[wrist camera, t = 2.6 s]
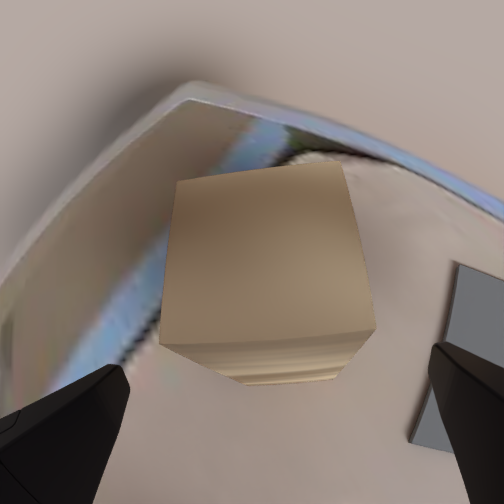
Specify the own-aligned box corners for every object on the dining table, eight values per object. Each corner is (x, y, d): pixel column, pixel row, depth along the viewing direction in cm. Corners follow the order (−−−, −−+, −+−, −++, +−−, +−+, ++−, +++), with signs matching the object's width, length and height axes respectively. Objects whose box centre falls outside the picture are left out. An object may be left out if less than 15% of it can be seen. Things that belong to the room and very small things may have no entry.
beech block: (332, 379, 17) (376, 328, 6) (247, 385, 17) (158, 343, 7) (325, 300, 19) (340, 160, 9) (246, 307, 20) (176, 181, 9)
